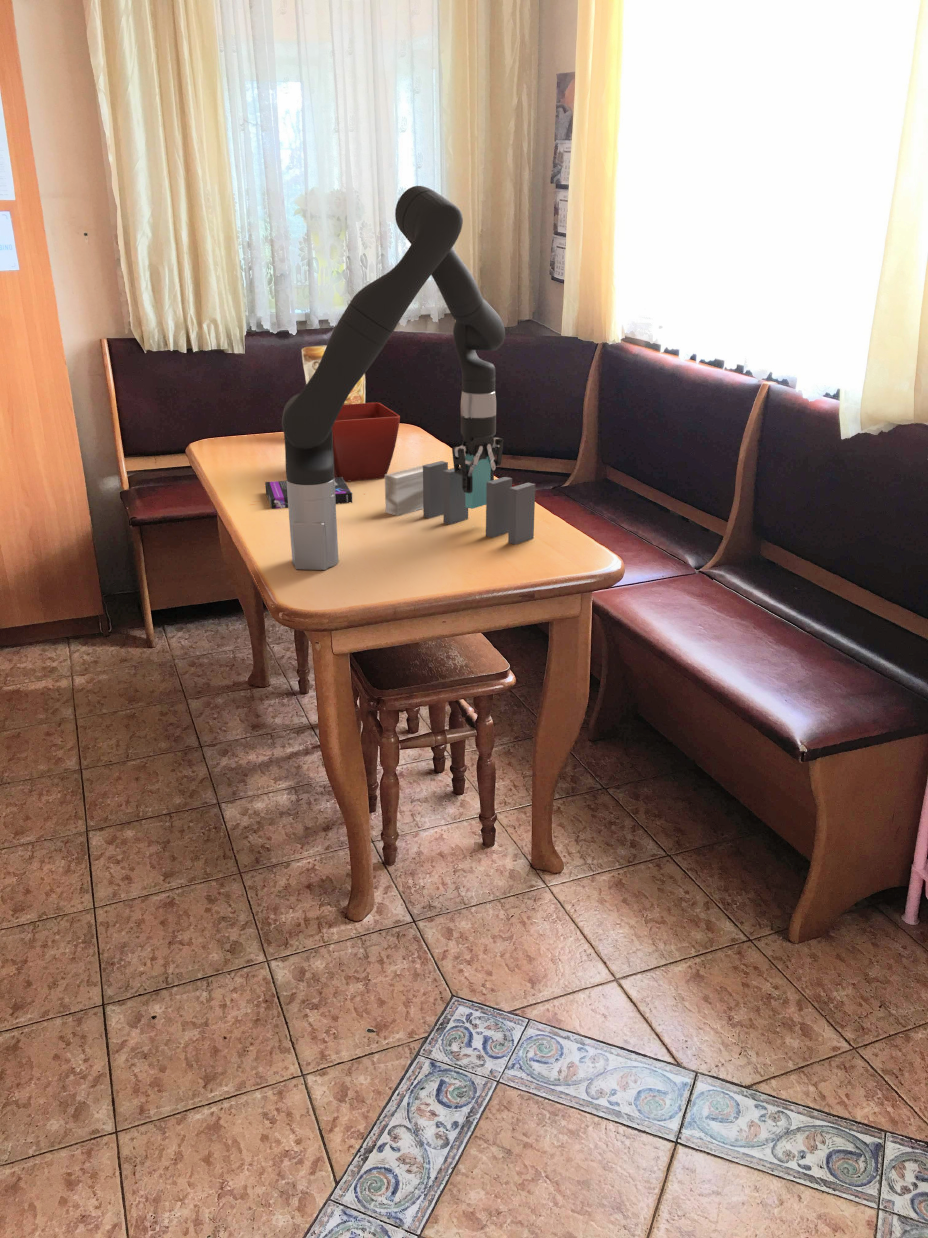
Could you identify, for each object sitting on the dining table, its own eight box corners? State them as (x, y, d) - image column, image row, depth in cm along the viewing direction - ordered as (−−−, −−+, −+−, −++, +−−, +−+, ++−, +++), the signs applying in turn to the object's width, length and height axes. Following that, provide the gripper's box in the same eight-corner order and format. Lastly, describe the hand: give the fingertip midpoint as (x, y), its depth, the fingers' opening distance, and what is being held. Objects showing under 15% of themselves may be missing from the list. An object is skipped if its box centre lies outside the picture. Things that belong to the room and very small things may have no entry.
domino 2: (468, 518, 221) (468, 467, 216) (449, 524, 217) (449, 472, 212) (461, 516, 222) (462, 465, 218) (443, 522, 218) (443, 470, 214)
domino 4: (510, 531, 213) (512, 478, 208) (492, 537, 209) (493, 483, 204) (504, 529, 214) (505, 476, 209) (485, 535, 210) (486, 481, 205)
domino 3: (465, 507, 212) (465, 453, 207) (484, 501, 216) (484, 448, 211) (471, 508, 211) (472, 454, 206) (490, 503, 215) (491, 449, 210)
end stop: (440, 503, 232) (440, 466, 228) (397, 516, 223) (396, 477, 219) (428, 500, 234) (428, 463, 231) (385, 512, 225) (384, 474, 222)
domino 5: (533, 538, 209) (535, 484, 204) (515, 544, 205) (516, 489, 200) (526, 536, 210) (528, 482, 205) (508, 542, 206) (509, 487, 201)
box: (271, 512, 228) (353, 504, 233) (269, 498, 226) (352, 490, 231) (266, 495, 240) (344, 488, 245) (264, 481, 239) (343, 474, 243)
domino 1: (447, 512, 225) (447, 462, 220) (429, 518, 221) (428, 467, 216) (441, 511, 226) (441, 460, 222) (423, 516, 222) (422, 465, 218)
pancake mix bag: (304, 441, 290) (298, 345, 279) (365, 436, 296) (362, 342, 285) (309, 446, 284) (303, 348, 273) (371, 441, 291) (368, 345, 279)
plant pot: (402, 480, 251) (401, 415, 244) (330, 487, 244) (327, 421, 238) (380, 463, 267) (379, 401, 260) (313, 469, 261) (309, 406, 254)
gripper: (488, 405, 212) (487, 479, 219) (441, 414, 203) (442, 492, 210) (514, 410, 208) (512, 486, 214) (467, 420, 198) (467, 499, 205)
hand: (478, 489), depth 212 cm, fingers closed on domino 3, 6 cm apart
